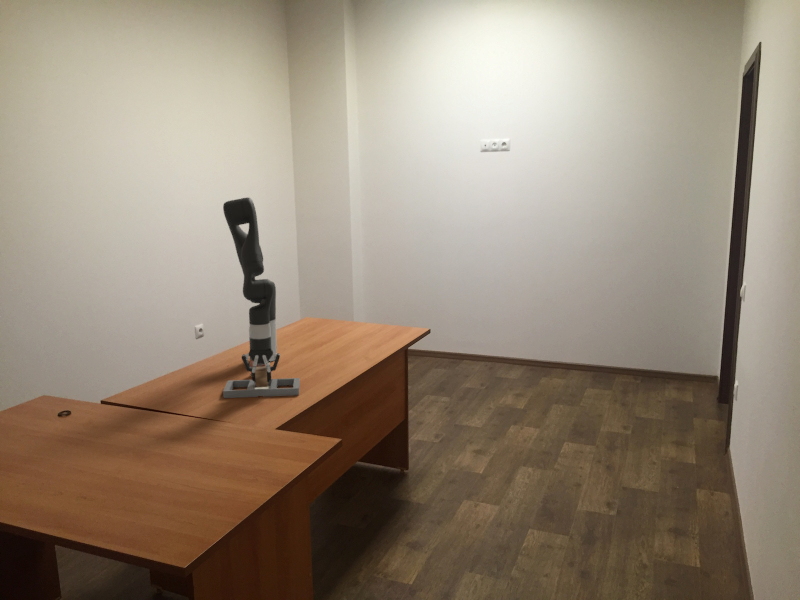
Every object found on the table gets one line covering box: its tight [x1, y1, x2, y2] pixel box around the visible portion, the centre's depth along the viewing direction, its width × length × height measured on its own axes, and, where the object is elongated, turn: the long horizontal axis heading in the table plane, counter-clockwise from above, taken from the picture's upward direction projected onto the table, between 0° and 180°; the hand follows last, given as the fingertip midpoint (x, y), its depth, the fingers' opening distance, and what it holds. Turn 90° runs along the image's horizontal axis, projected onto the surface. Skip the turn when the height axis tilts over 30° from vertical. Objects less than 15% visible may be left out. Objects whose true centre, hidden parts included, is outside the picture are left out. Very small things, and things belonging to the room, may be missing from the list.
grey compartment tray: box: [222, 377, 301, 399], centre depth 230 cm, size 12×26×2 cm, turn 97°
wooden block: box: [255, 366, 268, 387], centre depth 229 cm, size 4×5×6 cm
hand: (262, 381), depth 230 cm, fingers closed on wooden block, 4 cm apart
